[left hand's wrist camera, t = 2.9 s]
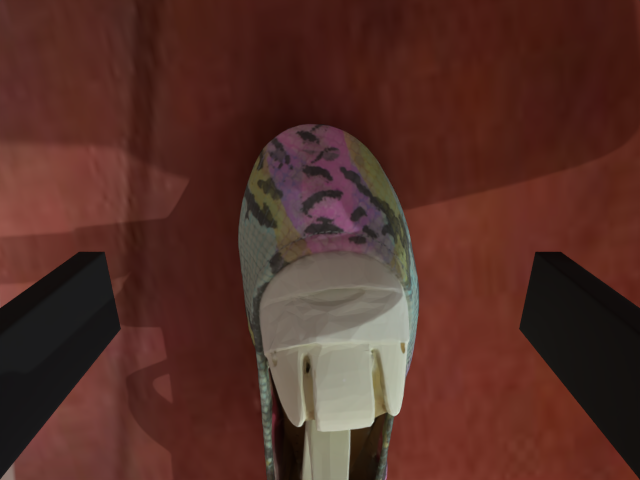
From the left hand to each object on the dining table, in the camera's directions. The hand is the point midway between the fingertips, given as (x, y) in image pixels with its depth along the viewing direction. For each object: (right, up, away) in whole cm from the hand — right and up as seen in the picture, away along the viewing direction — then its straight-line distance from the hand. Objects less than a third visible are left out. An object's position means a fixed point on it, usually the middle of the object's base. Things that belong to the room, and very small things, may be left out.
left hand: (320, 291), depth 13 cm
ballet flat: (+1, -4, +10) cm, 11 cm away
